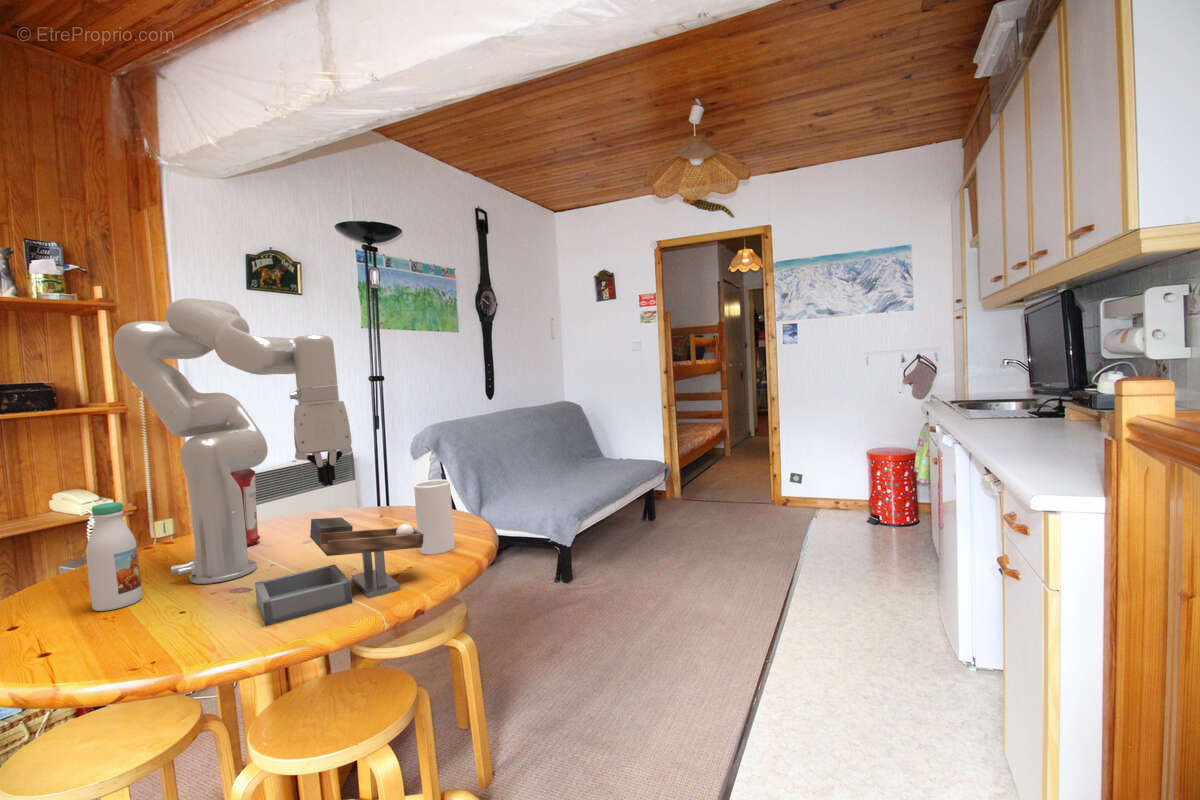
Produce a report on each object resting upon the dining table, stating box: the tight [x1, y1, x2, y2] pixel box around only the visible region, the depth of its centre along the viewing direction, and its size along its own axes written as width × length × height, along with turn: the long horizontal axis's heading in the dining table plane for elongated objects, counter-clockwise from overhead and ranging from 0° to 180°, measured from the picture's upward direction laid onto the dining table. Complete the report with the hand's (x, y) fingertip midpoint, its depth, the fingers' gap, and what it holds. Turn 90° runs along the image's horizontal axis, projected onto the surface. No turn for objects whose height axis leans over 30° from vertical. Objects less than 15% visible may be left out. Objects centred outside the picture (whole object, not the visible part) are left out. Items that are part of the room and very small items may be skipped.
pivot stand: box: [351, 550, 401, 599], centre depth 118 cm, size 6×13×8 cm, turn 36°
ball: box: [396, 523, 414, 535], centre depth 121 cm, size 4×4×4 cm
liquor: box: [230, 468, 261, 547], centre depth 152 cm, size 7×7×28 cm
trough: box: [309, 517, 424, 557], centre depth 121 cm, size 18×18×4 cm
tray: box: [254, 564, 353, 627], centre depth 110 cm, size 14×13×4 cm
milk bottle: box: [85, 501, 143, 612], centre depth 115 cm, size 8×8×20 cm
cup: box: [413, 479, 456, 555], centre depth 139 cm, size 8×8×16 cm
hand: (327, 484), depth 120 cm, fingers closed
